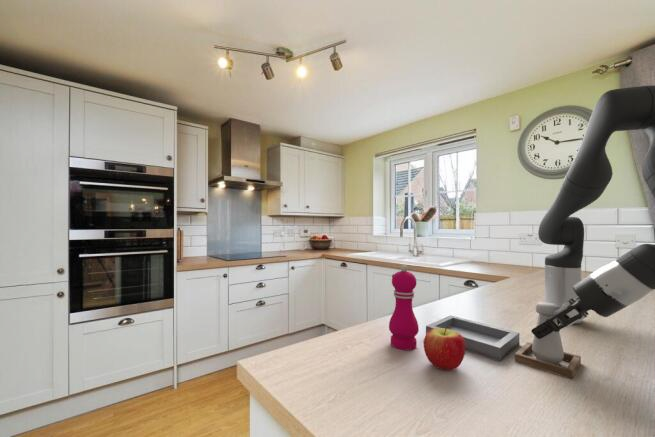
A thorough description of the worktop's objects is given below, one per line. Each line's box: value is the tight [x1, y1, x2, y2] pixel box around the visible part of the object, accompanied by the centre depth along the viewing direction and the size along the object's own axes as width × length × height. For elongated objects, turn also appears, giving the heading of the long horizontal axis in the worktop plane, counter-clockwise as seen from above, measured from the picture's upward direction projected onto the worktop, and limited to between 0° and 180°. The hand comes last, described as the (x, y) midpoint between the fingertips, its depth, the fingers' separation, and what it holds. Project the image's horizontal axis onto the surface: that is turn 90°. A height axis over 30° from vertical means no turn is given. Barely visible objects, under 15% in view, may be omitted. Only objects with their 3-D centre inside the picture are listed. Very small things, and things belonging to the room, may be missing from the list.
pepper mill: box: [388, 264, 420, 351], centre depth 73 cm, size 7×7×20 cm
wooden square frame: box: [514, 341, 582, 379], centre depth 65 cm, size 10×10×2 cm
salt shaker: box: [531, 301, 565, 365], centre depth 65 cm, size 6×6×13 cm
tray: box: [425, 315, 520, 362], centre depth 76 cm, size 14×18×3 cm
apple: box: [423, 322, 466, 371], centre depth 62 cm, size 8×8×10 cm
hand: (539, 330), depth 66 cm, fingers open, 8 cm apart
